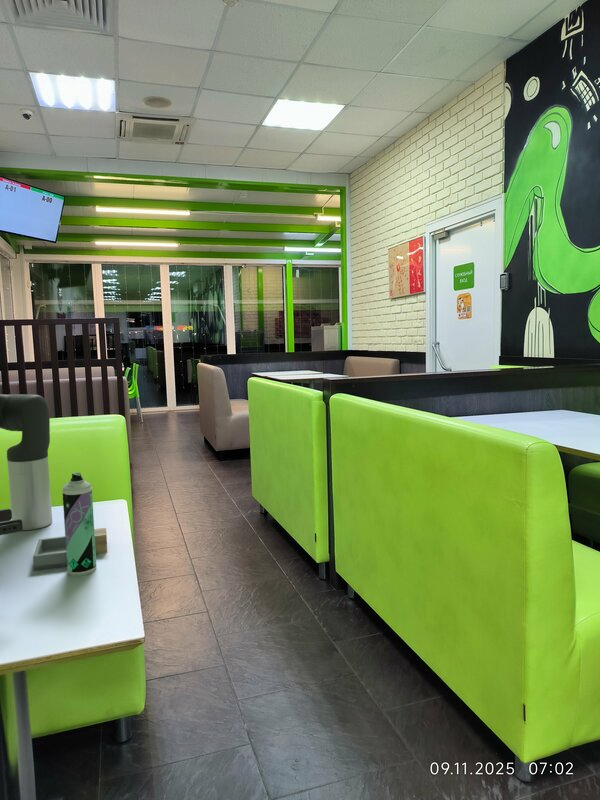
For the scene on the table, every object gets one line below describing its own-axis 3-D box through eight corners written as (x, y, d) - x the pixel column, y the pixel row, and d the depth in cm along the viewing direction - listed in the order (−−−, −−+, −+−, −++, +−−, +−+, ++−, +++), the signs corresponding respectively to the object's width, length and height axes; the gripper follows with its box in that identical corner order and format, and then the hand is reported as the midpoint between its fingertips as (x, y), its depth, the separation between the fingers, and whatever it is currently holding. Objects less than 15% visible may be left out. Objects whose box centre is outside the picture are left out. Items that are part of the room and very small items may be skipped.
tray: (39, 552, 122) (38, 539, 122) (90, 545, 126) (89, 533, 125) (34, 570, 112) (33, 556, 112) (88, 563, 116) (88, 549, 116)
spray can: (68, 566, 114) (62, 471, 112) (97, 563, 116) (91, 469, 114) (66, 577, 109) (59, 478, 107) (95, 573, 111) (90, 475, 108)
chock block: (93, 546, 126) (92, 529, 125) (107, 544, 127) (106, 527, 126) (92, 554, 121) (91, 536, 121) (107, 552, 122) (106, 534, 122)
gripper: (-87, 527, 88) (24, 507, 98) (-94, 507, 99) (6, 492, 109) (-83, 573, 88) (27, 548, 99) (-91, 548, 99) (9, 529, 110)
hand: (16, 519), depth 104 cm, fingers open, 8 cm apart
